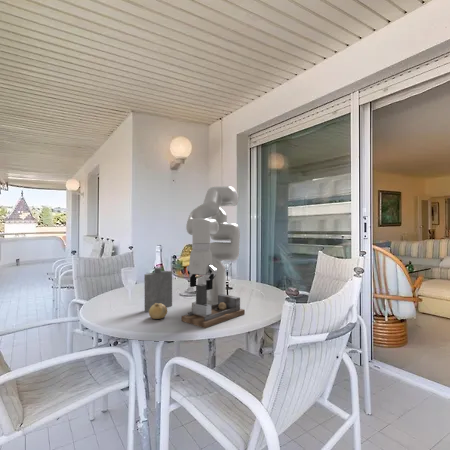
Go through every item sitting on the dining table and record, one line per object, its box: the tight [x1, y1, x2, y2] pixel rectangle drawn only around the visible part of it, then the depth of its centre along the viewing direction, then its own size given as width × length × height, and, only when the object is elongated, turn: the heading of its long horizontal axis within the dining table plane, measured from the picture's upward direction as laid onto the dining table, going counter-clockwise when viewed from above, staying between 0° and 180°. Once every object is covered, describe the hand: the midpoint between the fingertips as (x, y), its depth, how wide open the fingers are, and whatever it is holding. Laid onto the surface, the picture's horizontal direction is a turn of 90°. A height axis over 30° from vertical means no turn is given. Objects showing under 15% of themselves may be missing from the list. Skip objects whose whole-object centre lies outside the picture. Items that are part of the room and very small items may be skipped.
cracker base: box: [181, 294, 246, 329], centre depth 142 cm, size 14×26×8 cm, turn 139°
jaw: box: [191, 284, 212, 317], centre depth 136 cm, size 9×3×13 cm, turn 49°
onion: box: [148, 303, 168, 320], centre depth 141 cm, size 8×8×7 cm
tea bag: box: [196, 276, 207, 285], centre depth 196 cm, size 4×7×10 cm, turn 39°
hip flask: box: [144, 266, 173, 313], centre depth 157 cm, size 16×4×20 cm, turn 139°
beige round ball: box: [219, 302, 226, 310], centre depth 147 cm, size 4×4×4 cm
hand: (201, 288), depth 136 cm, fingers open, 9 cm apart
